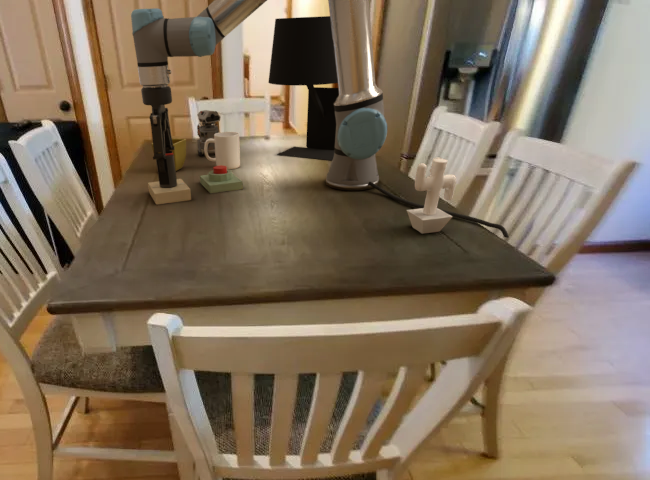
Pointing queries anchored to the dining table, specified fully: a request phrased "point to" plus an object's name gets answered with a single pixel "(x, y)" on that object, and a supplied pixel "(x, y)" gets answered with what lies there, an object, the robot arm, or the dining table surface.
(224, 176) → the switch box
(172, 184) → the dimmer knob
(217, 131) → the figurine
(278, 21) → the table lamp
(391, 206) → the dining table surface
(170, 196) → the dimmer panel
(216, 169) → the button
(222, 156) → the cup
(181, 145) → the flower pot
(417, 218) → the figurine
